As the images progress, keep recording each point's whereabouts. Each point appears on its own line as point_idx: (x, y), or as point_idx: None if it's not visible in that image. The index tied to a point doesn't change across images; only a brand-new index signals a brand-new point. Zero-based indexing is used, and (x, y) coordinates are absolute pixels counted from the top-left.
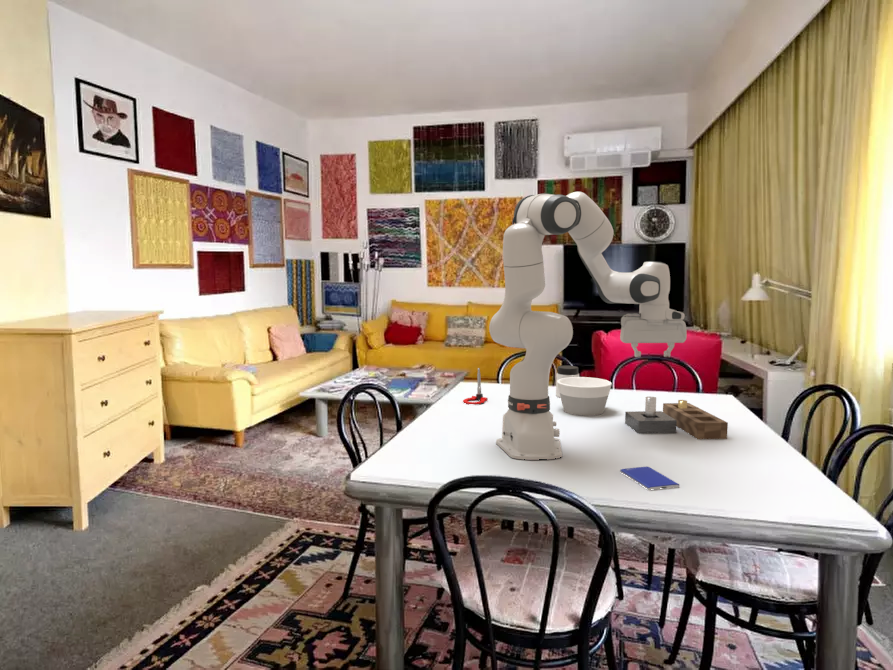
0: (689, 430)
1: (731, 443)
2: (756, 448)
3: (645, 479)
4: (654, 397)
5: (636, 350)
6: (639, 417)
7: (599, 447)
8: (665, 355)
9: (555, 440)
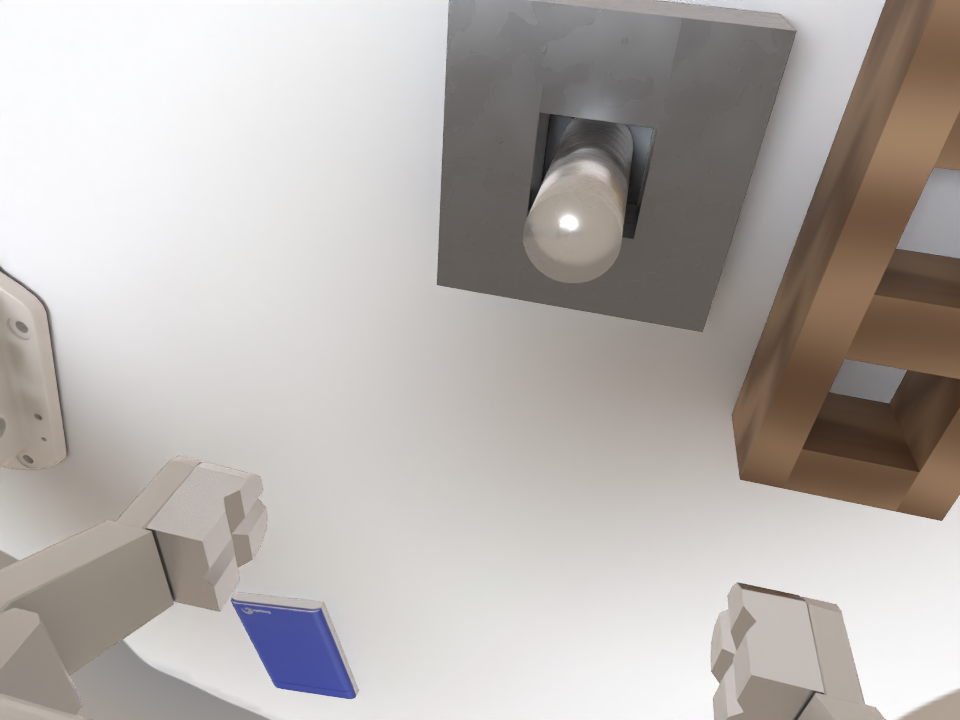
0: (766, 340)
1: (855, 504)
2: (903, 580)
3: (278, 663)
4: (607, 243)
5: (121, 616)
6: (482, 204)
7: (207, 395)
8: (715, 653)
9: (17, 317)
